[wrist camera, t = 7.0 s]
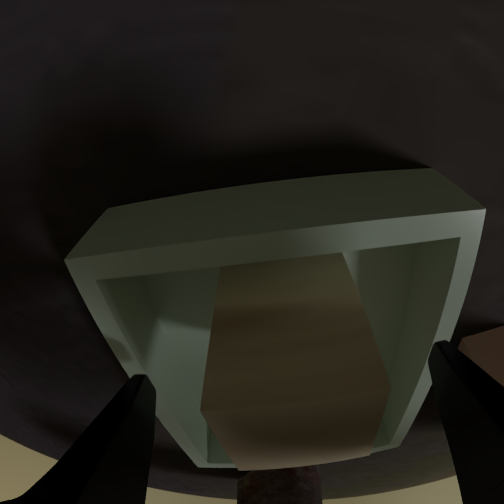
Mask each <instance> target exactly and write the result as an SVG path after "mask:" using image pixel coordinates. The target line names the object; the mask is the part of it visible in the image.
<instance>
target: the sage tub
mask: <svg viewBox="0 0 504 504" xmlns="http://www.w3.org/2000/svg"><path fill="white" fill-rule="evenodd" d="M485 212H486V209H485V208H484V207H483V206H482V205H480V204H479V203H478V202H477V201H475V200H474V199H473V198H472V197H470V196H469V195H468V194H467V193H465V192H464V191H463V190H461V189H460V188H459V187H457V186H456V185H455V184H453V183H452V182H451V181H449V180H448V179H447V178H445V177H444V176H443V175H441V174H440V173H438V172H437V171H436V170H434V169H433V168H424V169H405V170H388V171H374V172H360V173H348V174H337V175H326V176H316V177H307V178H298V179H289V180H280V181H272V182H264V183H256V184H249V185H241V186H234V187H227V188H220V189H214V190H207V191H201V192H194V193H188V194H182V195H176V196H170V197H165V198H159V199H153V200H148V201H143V202H137V203H132V204H127V205H122V206H117V207H112V208H107V210H106V211H105V212H104V213H103V214H102V215H101V216H100V217H99V219H98V220H97V221H96V222H95V223H94V224H93V225H92V227H91V228H90V229H89V230H88V231H87V232H86V234H85V235H84V236H83V237H82V238H81V240H80V241H79V242H78V243H77V244H76V246H75V247H74V248H73V249H72V250H71V252H70V253H69V254H68V255H67V257H66V258H65V259H64V261H65V263H66V265H67V268H68V270H69V272H70V274H71V276H72V278H73V280H74V282H75V284H76V286H77V288H78V290H79V292H80V294H81V296H82V298H83V300H84V302H85V304H86V305H87V307H88V309H89V311H90V313H91V315H92V317H93V318H94V320H95V322H96V324H97V325H98V327H99V329H100V331H101V332H102V334H103V336H104V338H105V339H106V341H107V343H108V344H109V346H110V348H111V349H112V351H113V353H114V354H115V356H116V357H117V359H118V361H119V362H120V364H121V365H122V367H123V368H124V370H125V371H126V373H127V375H128V376H129V378H131V377H132V376H133V375H134V374H146V375H147V376H148V377H149V379H150V381H151V382H152V384H153V385H154V387H155V389H156V413H155V415H156V416H157V417H158V419H159V420H160V421H161V423H162V424H163V425H164V427H165V428H166V429H167V430H168V432H169V433H170V434H171V435H172V437H173V438H174V439H175V440H176V442H177V443H178V444H179V445H180V447H181V448H182V449H183V450H184V451H185V453H186V454H187V455H188V456H189V457H190V459H191V460H192V461H193V462H194V463H195V464H196V466H197V467H203V468H237V467H236V466H235V464H234V463H233V462H232V460H231V459H230V457H229V456H228V454H227V453H226V451H225V450H224V448H223V447H222V445H221V444H220V442H219V441H218V439H217V438H216V436H215V435H214V433H213V432H212V430H211V428H210V427H209V425H208V424H207V422H206V420H205V419H204V417H203V416H202V414H201V412H200V406H201V398H202V390H203V383H204V375H205V368H206V361H207V353H208V346H209V339H210V332H211V326H212V319H213V312H214V305H215V299H216V292H217V286H218V279H219V273H220V267H221V266H230V265H238V264H247V263H256V262H264V261H273V260H281V259H290V258H298V257H306V256H315V255H323V254H331V253H339V252H342V253H343V256H344V258H345V261H346V263H347V266H348V268H349V271H350V273H351V276H352V278H353V281H354V283H355V286H356V288H357V291H358V294H359V296H360V299H361V301H362V304H363V307H364V309H365V312H366V315H367V318H368V320H369V323H370V326H371V329H372V332H373V334H374V337H375V340H376V343H377V346H378V349H379V352H380V355H381V358H382V361H383V364H384V367H385V370H386V373H387V376H388V379H389V382H390V385H391V390H390V394H389V397H388V401H387V404H386V407H385V411H384V414H383V417H382V420H381V423H380V426H379V429H378V432H377V435H376V438H375V441H374V444H373V447H372V450H371V452H370V453H374V452H378V451H383V450H387V449H391V448H395V447H399V446H400V444H401V443H402V441H403V439H404V437H405V436H406V434H407V432H408V430H409V428H410V427H411V425H412V423H413V421H414V419H415V417H416V415H417V413H418V412H419V410H420V408H421V406H422V404H423V402H424V400H425V397H426V395H427V393H428V391H429V389H430V387H431V385H432V380H431V375H430V371H429V367H428V357H429V355H430V352H431V349H432V346H433V344H434V343H435V342H437V341H441V340H447V341H449V342H450V339H451V337H452V334H453V331H454V329H455V326H456V323H457V320H458V317H459V314H460V311H461V308H462V305H463V302H464V299H465V296H466V292H467V289H468V286H469V282H470V279H471V275H472V271H473V267H474V264H475V260H476V255H477V251H478V247H479V243H480V238H481V233H482V228H483V223H484V218H485Z"/></svg>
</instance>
